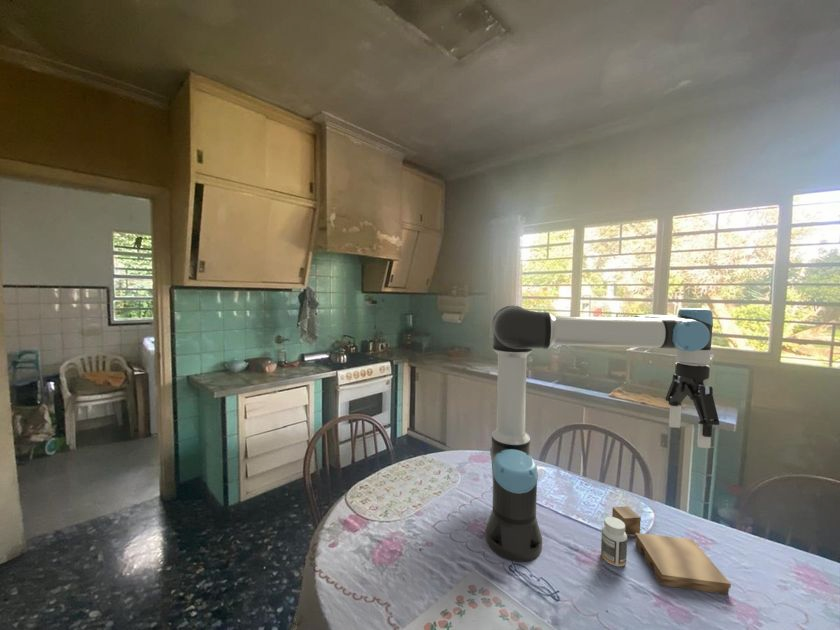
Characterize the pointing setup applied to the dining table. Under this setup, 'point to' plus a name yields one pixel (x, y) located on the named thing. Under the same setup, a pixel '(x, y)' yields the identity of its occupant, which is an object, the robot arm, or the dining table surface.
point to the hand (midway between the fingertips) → (688, 436)
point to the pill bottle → (614, 541)
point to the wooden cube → (628, 519)
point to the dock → (681, 563)
